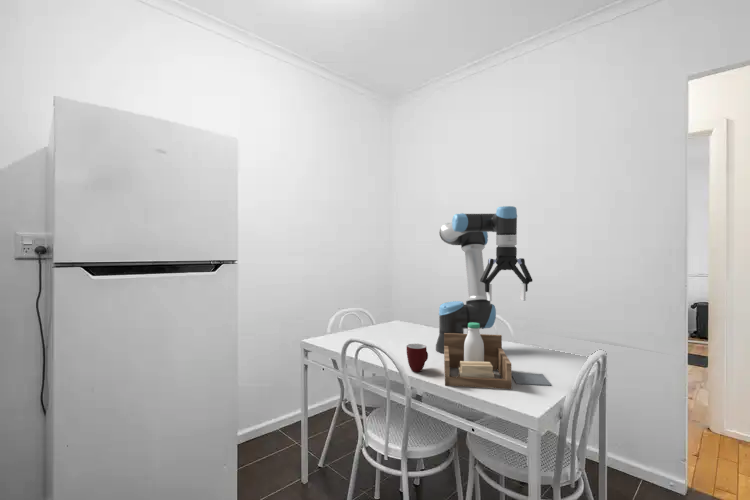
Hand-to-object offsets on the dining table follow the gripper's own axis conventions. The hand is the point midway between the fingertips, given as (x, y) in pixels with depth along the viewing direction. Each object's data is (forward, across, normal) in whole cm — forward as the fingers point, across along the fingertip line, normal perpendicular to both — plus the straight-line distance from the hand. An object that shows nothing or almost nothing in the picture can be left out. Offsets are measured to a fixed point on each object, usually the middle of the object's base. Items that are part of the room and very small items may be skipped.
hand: (506, 300), depth 147 cm
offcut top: (+25, -15, -7) cm, 30 cm away
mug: (+29, -33, +9) cm, 45 cm away
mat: (+29, +6, -6) cm, 30 cm away
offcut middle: (+27, -15, -7) cm, 32 cm away
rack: (+29, -13, -2) cm, 32 cm away
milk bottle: (+29, -12, +2) cm, 32 cm away
